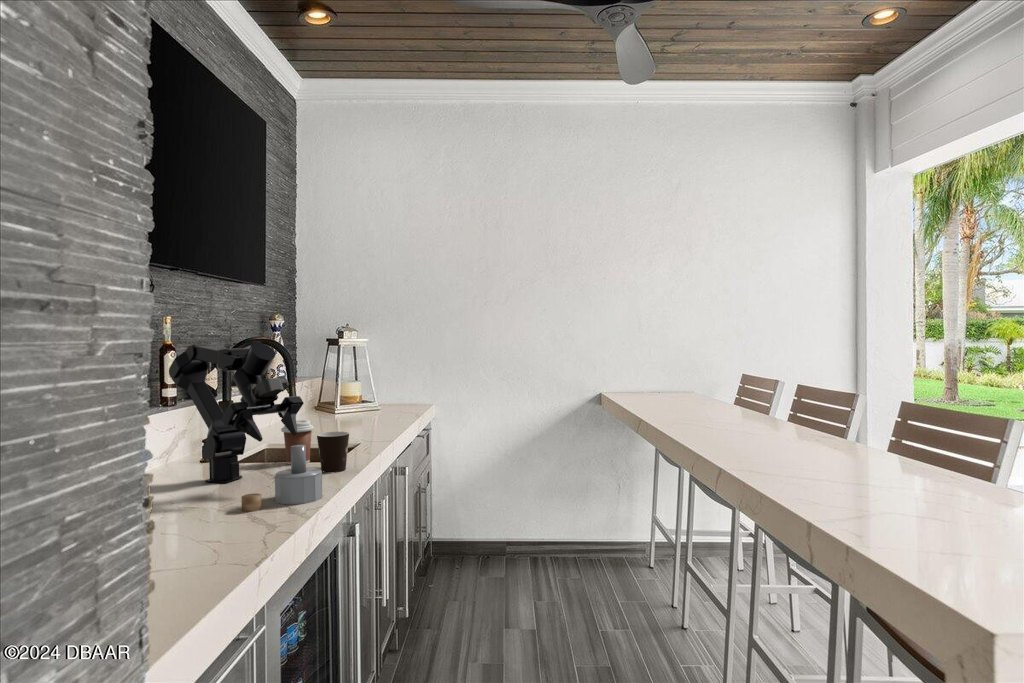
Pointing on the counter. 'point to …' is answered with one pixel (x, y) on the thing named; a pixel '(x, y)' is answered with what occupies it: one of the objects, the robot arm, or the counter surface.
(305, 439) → the coffee cup
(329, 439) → the coffee mug
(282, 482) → the slate cloche
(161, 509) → the counter surface
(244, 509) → the walnut puck
